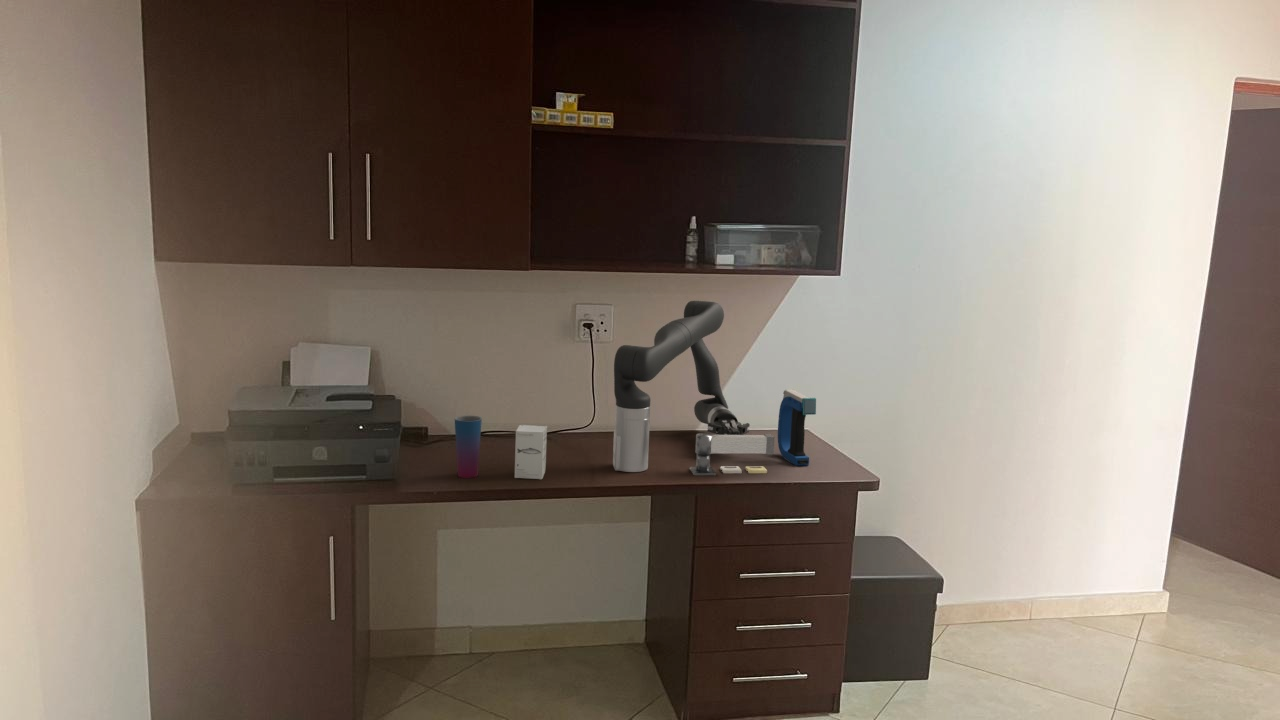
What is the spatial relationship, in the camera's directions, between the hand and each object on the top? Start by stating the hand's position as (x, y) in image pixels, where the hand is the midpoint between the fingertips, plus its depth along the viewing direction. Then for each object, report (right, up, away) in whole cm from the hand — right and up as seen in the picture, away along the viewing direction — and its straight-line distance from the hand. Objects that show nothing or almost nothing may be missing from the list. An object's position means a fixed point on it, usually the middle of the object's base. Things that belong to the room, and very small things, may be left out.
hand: (735, 434), depth 261 cm
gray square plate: (-10, -9, -10) cm, 17 cm away
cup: (-71, -9, -21) cm, 75 cm away
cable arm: (-1, -4, -10) cm, 11 cm away
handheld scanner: (+17, -8, +5) cm, 20 cm away
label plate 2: (+5, -9, -7) cm, 13 cm away
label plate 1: (-2, -9, -8) cm, 13 cm away
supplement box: (-55, -9, -19) cm, 59 cm away
